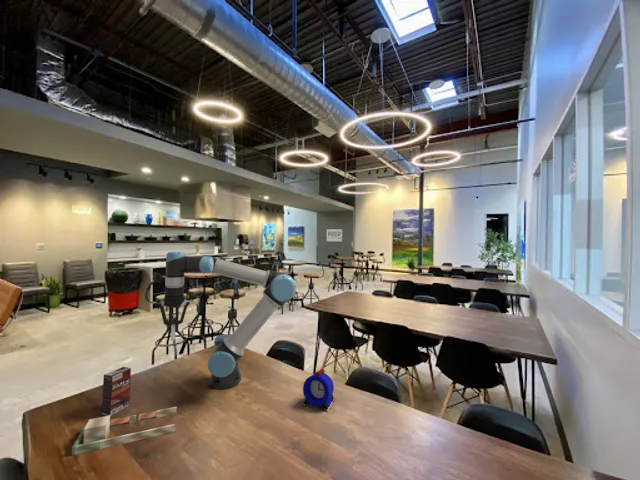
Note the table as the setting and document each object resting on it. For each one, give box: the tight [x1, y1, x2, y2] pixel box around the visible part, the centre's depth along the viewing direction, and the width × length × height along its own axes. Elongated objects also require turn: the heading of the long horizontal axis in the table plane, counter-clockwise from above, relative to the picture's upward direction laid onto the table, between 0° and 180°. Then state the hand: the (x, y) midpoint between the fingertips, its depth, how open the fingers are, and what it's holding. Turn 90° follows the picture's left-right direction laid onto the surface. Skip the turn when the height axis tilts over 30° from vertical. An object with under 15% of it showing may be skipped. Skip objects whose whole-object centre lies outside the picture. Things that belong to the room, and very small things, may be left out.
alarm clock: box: [302, 368, 335, 411], centre depth 127 cm, size 12×12×15 cm
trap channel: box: [71, 406, 178, 456], centre depth 106 cm, size 30×17×2 cm, turn 115°
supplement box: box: [101, 366, 132, 417], centre depth 117 cm, size 9×5×16 cm, turn 163°
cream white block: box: [83, 415, 111, 444], centre depth 100 cm, size 6×6×6 cm
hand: (172, 339), depth 126 cm, fingers closed
